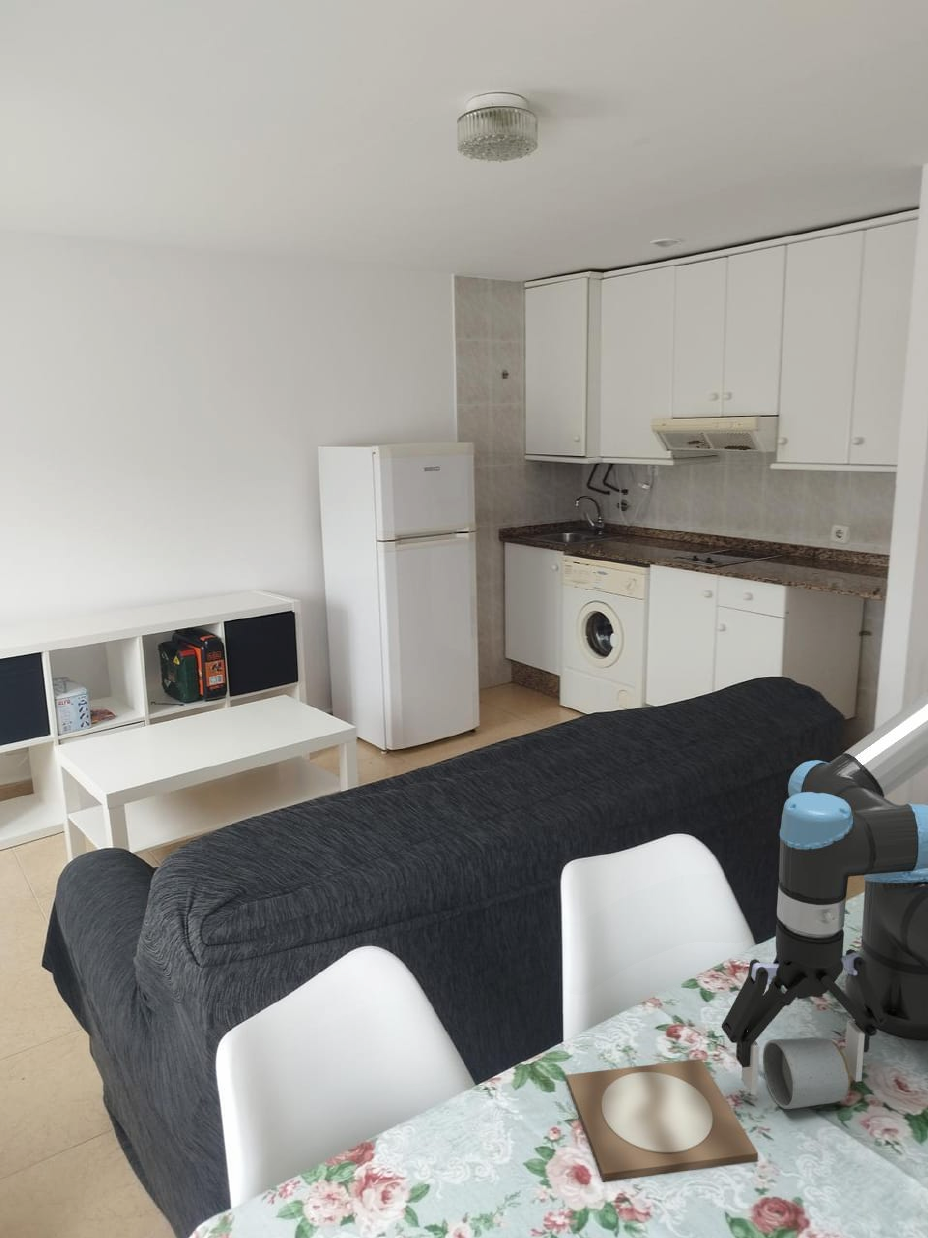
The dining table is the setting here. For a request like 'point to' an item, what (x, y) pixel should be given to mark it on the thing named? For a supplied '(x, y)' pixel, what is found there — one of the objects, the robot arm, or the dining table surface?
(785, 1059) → the ceramic mug
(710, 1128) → the board
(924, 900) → the robot arm
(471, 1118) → the dining table surface
